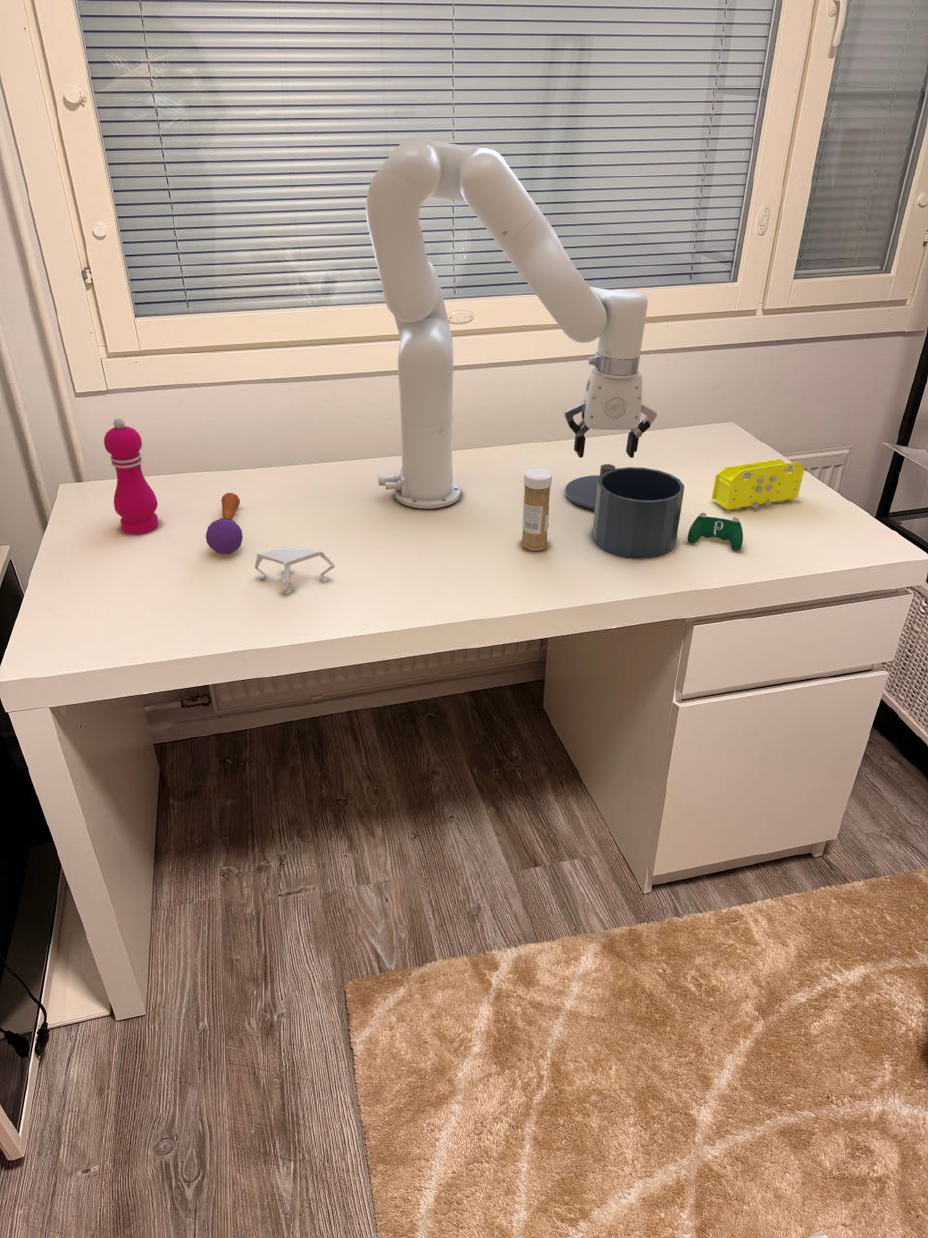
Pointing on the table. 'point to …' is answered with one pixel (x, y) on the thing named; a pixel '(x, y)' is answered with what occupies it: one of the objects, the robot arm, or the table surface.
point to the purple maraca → (225, 528)
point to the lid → (586, 488)
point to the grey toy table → (290, 561)
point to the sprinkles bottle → (536, 509)
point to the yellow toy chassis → (757, 484)
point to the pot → (637, 512)
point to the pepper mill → (130, 480)
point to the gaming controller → (717, 530)
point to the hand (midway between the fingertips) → (604, 454)
